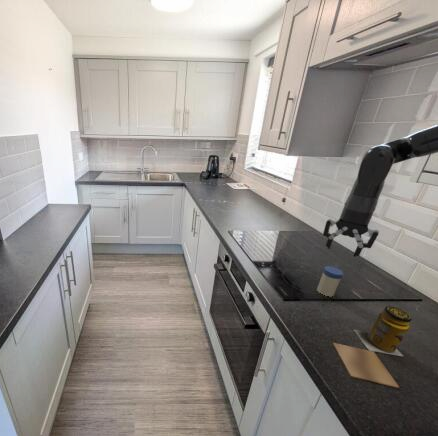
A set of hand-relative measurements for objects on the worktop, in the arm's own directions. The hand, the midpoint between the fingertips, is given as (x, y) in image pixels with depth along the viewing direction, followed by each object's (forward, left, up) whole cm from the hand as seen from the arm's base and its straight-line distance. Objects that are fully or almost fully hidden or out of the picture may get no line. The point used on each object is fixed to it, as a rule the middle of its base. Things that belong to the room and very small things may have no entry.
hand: (341, 251), depth 82 cm
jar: (0, 0, -18) cm, 18 cm away
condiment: (-5, +22, -18) cm, 29 cm away
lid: (0, 0, -8) cm, 8 cm away
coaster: (+3, +31, -18) cm, 36 cm away
